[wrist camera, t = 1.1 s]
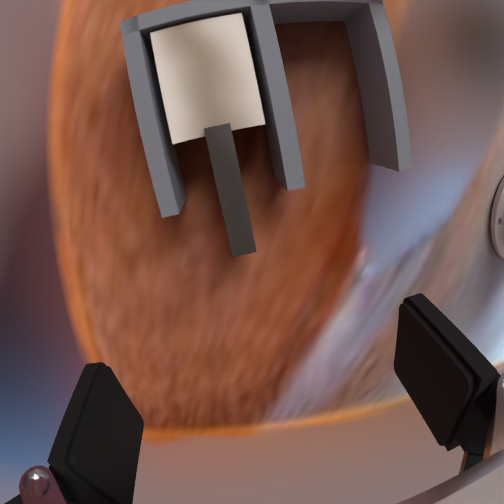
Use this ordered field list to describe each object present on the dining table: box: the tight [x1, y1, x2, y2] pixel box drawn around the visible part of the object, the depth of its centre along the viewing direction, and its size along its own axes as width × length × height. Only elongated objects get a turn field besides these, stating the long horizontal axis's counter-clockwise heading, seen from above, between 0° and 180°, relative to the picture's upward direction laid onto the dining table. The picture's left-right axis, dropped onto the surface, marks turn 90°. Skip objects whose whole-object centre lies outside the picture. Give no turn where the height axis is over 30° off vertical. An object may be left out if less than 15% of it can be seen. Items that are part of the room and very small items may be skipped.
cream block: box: [150, 13, 265, 257], centre depth 21 cm, size 6×16×6 cm, turn 11°
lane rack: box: [120, 0, 412, 218], centre depth 20 cm, size 18×14×5 cm
